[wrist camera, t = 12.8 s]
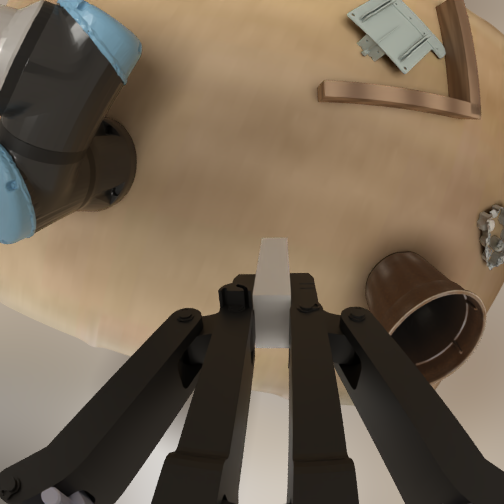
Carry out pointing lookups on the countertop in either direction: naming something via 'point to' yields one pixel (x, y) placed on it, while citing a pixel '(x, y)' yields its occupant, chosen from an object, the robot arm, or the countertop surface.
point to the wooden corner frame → (456, 105)
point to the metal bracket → (394, 33)
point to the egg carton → (494, 242)
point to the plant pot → (425, 314)
